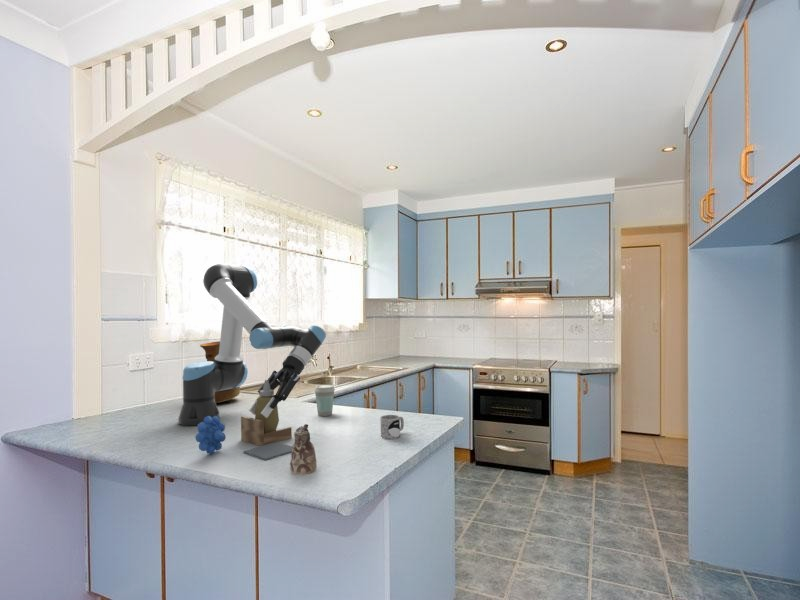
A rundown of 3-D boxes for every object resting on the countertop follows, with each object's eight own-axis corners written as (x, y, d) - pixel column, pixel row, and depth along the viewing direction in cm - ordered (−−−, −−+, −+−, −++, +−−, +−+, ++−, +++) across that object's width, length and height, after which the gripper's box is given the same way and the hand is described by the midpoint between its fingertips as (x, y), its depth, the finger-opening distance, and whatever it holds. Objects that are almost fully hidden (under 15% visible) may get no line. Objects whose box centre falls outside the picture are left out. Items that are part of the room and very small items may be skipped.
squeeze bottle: (271, 436, 146) (271, 382, 146) (249, 435, 147) (249, 381, 148) (283, 429, 154) (282, 378, 154) (262, 428, 155) (261, 377, 156)
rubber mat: (243, 452, 136) (243, 451, 136) (276, 443, 145) (276, 441, 145) (265, 460, 128) (265, 458, 128) (298, 449, 138) (298, 448, 138)
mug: (390, 440, 146) (390, 420, 146) (376, 436, 151) (376, 417, 151) (410, 433, 154) (410, 414, 154) (396, 430, 158) (396, 412, 158)
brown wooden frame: (241, 439, 150) (241, 416, 150) (271, 431, 159) (271, 409, 159) (261, 446, 142) (260, 421, 142) (291, 437, 151) (291, 414, 152)
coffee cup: (318, 412, 189) (318, 384, 189) (337, 412, 188) (337, 384, 188) (311, 417, 180) (311, 387, 181) (331, 417, 179) (331, 388, 179)
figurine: (284, 472, 118) (284, 428, 119) (299, 464, 125) (299, 421, 125) (307, 475, 116) (306, 430, 116) (321, 466, 122) (320, 423, 123)
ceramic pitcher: (188, 403, 213) (187, 341, 214) (227, 396, 228) (226, 339, 229) (207, 408, 200) (207, 343, 201) (247, 400, 216) (246, 340, 216)
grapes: (208, 461, 128) (207, 420, 129) (190, 459, 131) (189, 419, 131) (235, 449, 139) (235, 411, 140) (218, 447, 142) (218, 410, 142)
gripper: (319, 369, 157) (281, 425, 144) (286, 365, 169) (248, 416, 156) (307, 356, 153) (267, 412, 140) (274, 352, 165) (235, 403, 152)
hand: (257, 414), depth 148 cm, fingers closed on squeeze bottle, 6 cm apart
